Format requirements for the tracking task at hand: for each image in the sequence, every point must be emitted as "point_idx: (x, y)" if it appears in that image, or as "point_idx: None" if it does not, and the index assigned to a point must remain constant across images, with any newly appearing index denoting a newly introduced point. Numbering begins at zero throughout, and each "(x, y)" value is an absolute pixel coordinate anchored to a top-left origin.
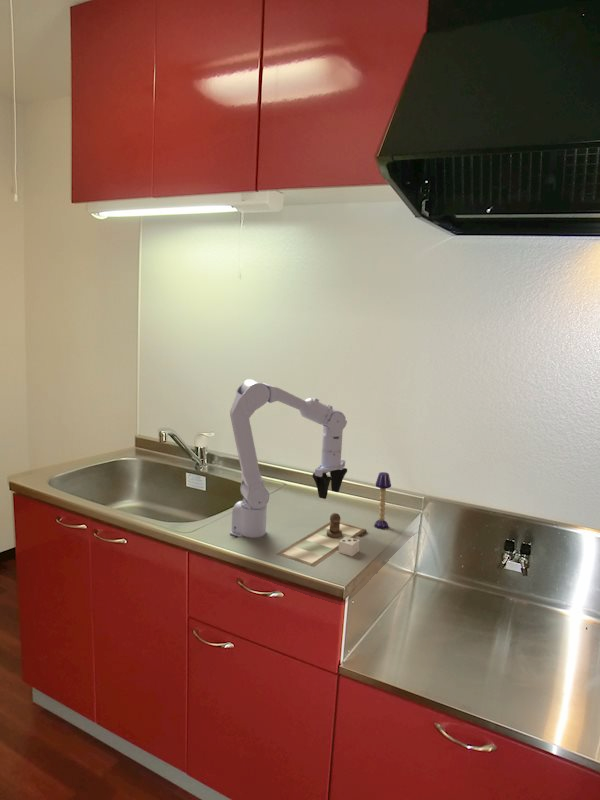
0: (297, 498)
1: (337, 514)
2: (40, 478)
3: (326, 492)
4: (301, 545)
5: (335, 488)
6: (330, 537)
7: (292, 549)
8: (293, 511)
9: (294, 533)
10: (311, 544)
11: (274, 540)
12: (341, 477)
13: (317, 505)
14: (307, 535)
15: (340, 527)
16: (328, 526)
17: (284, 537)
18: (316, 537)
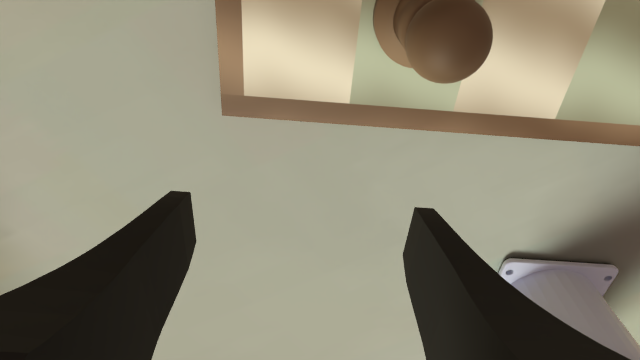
0: None
1: (462, 30)
2: None
3: (459, 241)
4: (633, 104)
5: (182, 234)
6: None
7: None
8: (232, 292)
9: (457, 196)
10: (608, 66)
11: (565, 224)
12: (104, 292)
13: None
14: (493, 134)
15: (291, 31)
16: (319, 97)
17: (519, 208)
18: (501, 85)
